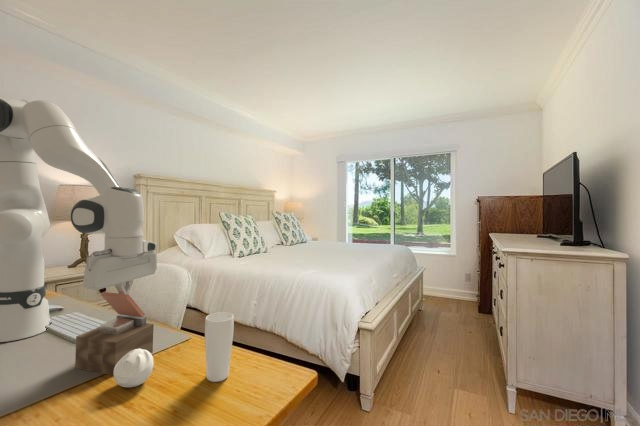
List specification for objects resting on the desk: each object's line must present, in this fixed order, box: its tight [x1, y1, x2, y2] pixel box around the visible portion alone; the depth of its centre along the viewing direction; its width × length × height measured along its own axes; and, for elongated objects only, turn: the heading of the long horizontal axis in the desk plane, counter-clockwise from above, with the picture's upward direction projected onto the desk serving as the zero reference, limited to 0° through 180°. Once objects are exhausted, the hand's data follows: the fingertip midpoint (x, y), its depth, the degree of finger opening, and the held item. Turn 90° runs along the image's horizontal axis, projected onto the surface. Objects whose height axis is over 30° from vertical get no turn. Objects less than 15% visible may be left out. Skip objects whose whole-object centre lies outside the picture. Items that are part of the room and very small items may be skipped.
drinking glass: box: [204, 311, 235, 383], centre depth 72 cm, size 7×7×15 cm
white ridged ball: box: [113, 348, 155, 389], centre depth 68 cm, size 8×8×8 cm
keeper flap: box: [100, 291, 145, 317], centre depth 80 cm, size 9×8×1 cm
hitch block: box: [74, 314, 154, 376], centre depth 78 cm, size 12×12×10 cm
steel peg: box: [99, 317, 134, 335], centre depth 78 cm, size 5×5×9 cm
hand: (123, 297), depth 79 cm, fingers closed
